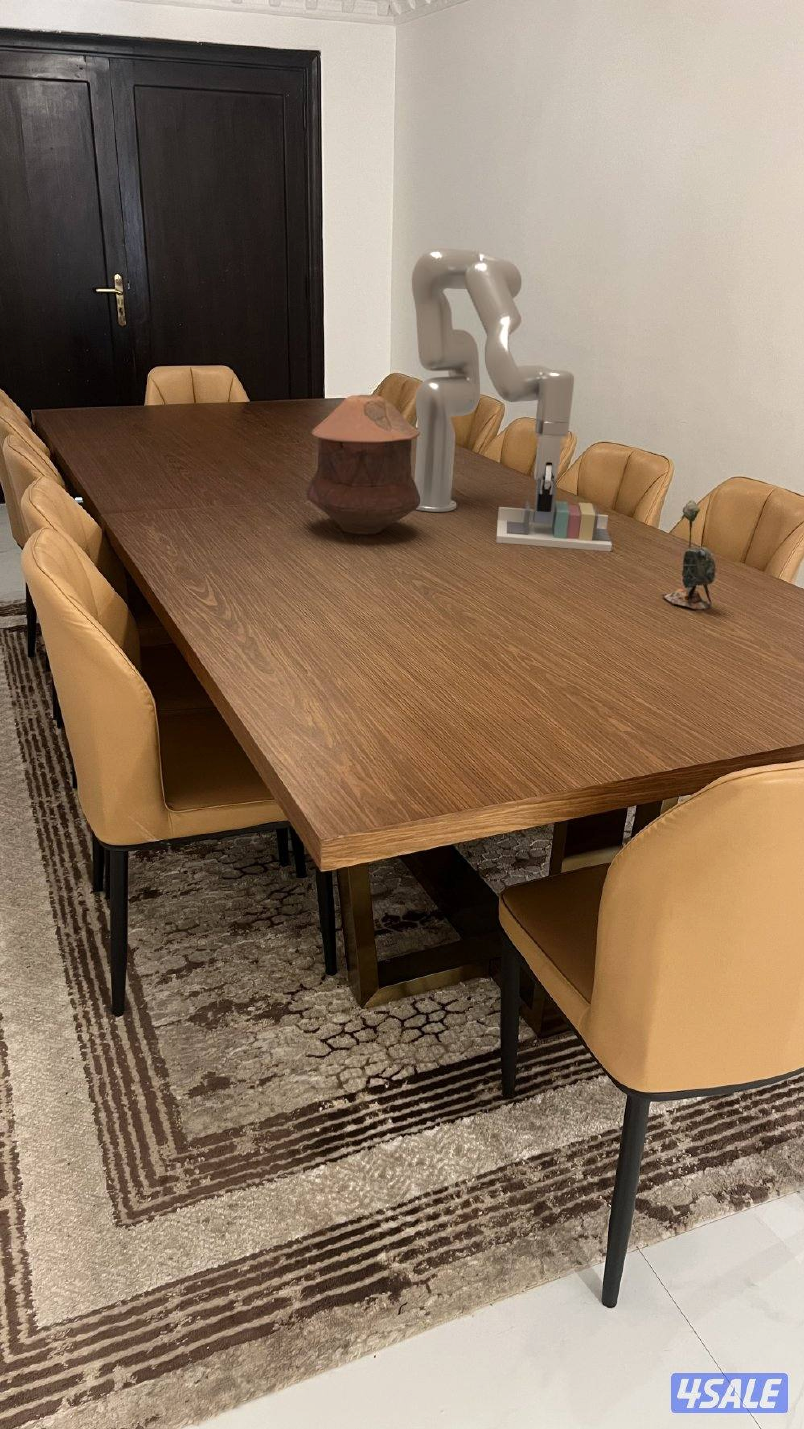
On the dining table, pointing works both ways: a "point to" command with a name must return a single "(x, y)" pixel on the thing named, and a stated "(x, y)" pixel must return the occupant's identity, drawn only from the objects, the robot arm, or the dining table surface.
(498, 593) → the dining table surface
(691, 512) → the green and brown figurine
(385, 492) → the pottery vessel
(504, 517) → the book shelf
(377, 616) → the dining table surface
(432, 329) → the robot arm
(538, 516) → the boxed book
